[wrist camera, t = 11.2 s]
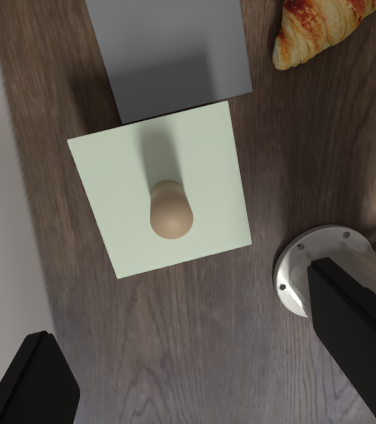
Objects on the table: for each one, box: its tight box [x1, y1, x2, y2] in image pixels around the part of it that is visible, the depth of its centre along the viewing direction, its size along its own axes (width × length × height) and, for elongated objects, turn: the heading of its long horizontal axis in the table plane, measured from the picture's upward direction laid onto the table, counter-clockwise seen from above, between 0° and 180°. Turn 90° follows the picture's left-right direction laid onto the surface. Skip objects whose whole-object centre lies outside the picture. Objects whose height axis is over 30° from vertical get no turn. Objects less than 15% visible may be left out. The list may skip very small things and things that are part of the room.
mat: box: [85, 0, 253, 124], centre depth 27 cm, size 13×13×1 cm
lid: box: [67, 101, 252, 279], centre depth 24 cm, size 13×13×6 cm
